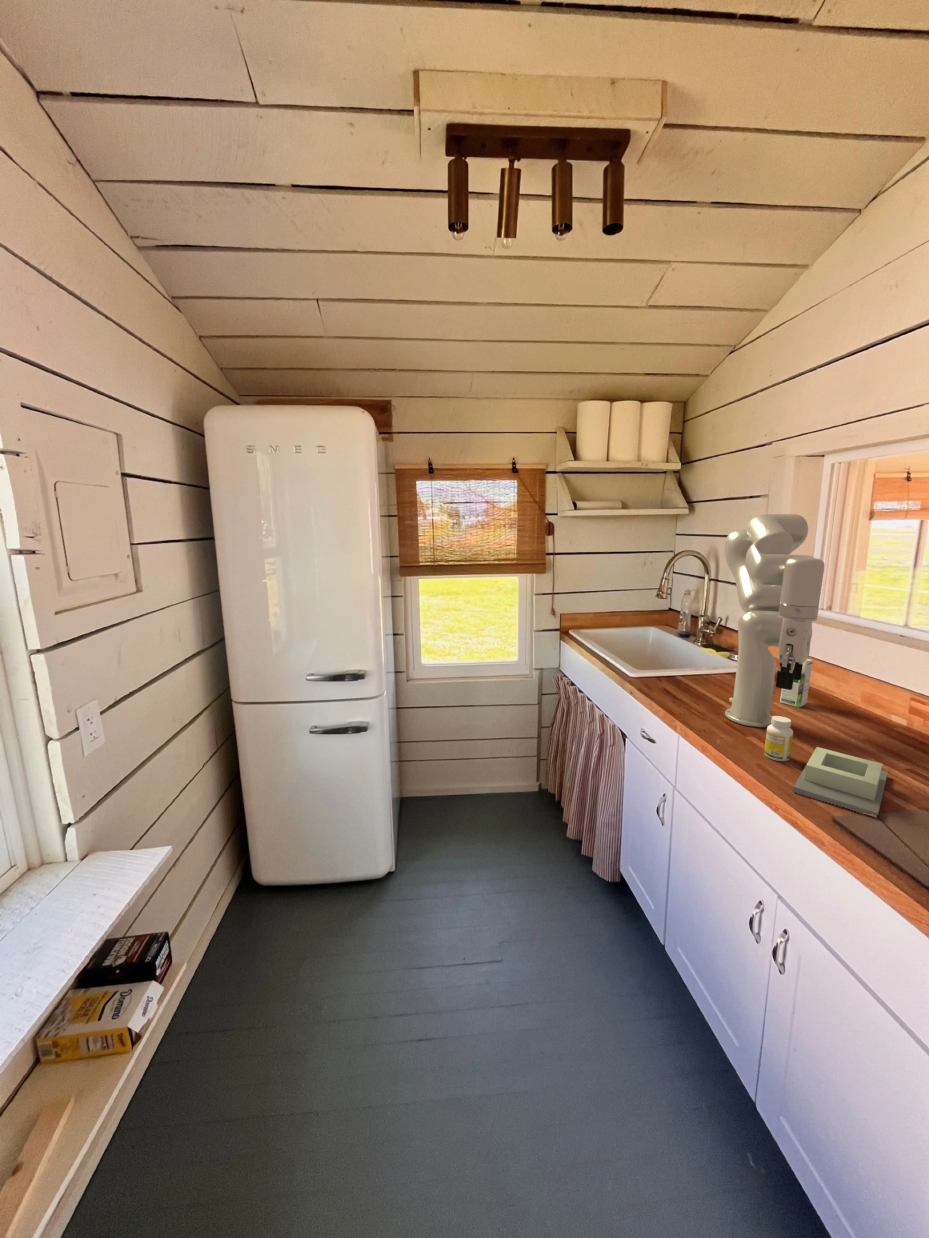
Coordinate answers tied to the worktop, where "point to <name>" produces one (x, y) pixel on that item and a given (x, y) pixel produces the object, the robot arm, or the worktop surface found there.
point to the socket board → (841, 795)
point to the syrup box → (798, 688)
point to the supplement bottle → (779, 739)
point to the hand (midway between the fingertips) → (788, 683)
